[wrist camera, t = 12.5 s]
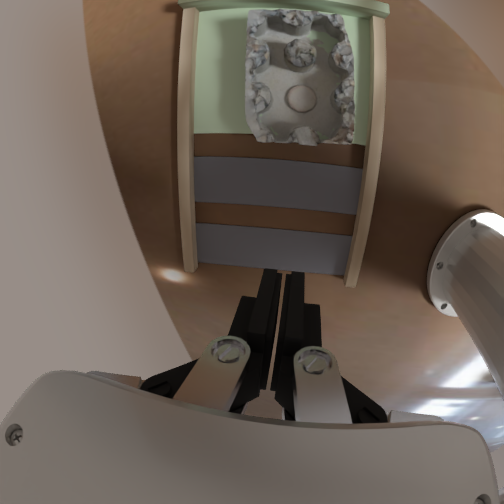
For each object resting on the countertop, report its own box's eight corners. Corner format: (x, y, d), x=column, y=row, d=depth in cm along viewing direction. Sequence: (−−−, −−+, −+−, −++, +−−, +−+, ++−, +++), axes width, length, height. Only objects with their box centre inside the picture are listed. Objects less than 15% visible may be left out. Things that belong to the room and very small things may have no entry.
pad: (368, 21, 15) (369, 20, 14) (364, 145, 20) (365, 145, 20) (200, 12, 16) (199, 11, 16) (194, 133, 21) (193, 133, 21)
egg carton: (343, 146, 20) (355, 152, 16) (250, 140, 21) (242, 144, 17) (345, 27, 15) (356, 9, 11) (252, 21, 16) (244, 2, 12)
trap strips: (362, 168, 21) (363, 169, 20) (344, 274, 25) (344, 275, 25) (194, 156, 22) (193, 156, 22) (198, 261, 26) (197, 262, 26)
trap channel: (379, 14, 14) (388, 4, 12) (353, 280, 25) (358, 295, 23) (189, 4, 15) (178, -6, 13) (188, 265, 27) (179, 278, 24)
